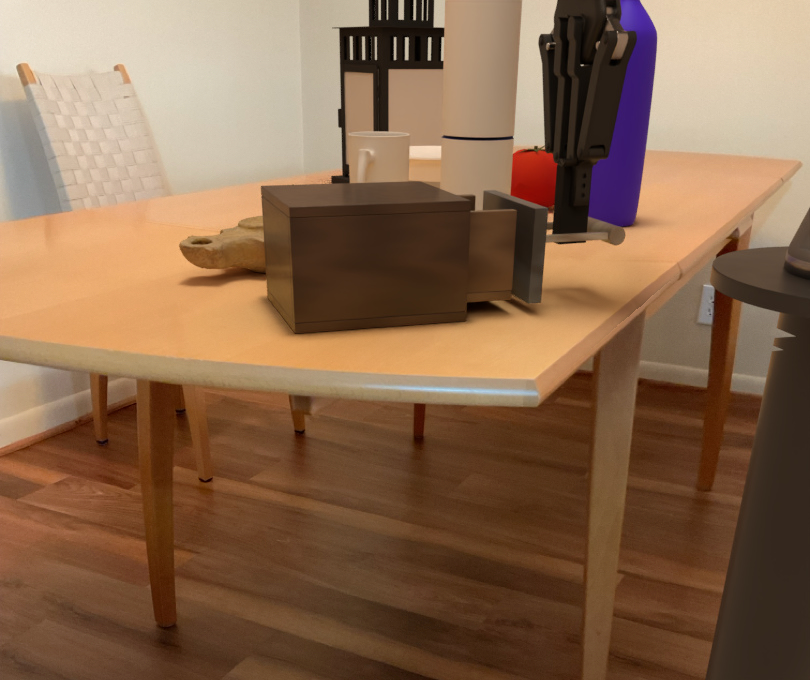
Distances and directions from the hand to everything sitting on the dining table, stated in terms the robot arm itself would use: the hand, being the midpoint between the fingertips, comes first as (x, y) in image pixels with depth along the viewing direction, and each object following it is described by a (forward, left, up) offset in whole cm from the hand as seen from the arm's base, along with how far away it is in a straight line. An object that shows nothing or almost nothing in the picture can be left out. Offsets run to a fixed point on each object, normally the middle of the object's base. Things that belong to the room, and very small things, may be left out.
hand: (568, 241), depth 83 cm
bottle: (+5, -44, -5) cm, 44 cm away
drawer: (+6, +5, -4) cm, 8 cm away
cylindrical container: (+12, -9, -5) cm, 16 cm away
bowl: (+26, -36, -5) cm, 44 cm away
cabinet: (+15, +12, -5) cm, 20 cm away
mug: (+25, -13, -5) cm, 28 cm away
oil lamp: (+31, +3, -5) cm, 31 cm away
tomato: (+17, -52, -5) cm, 55 cm away
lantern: (+44, -66, -5) cm, 79 cm away
